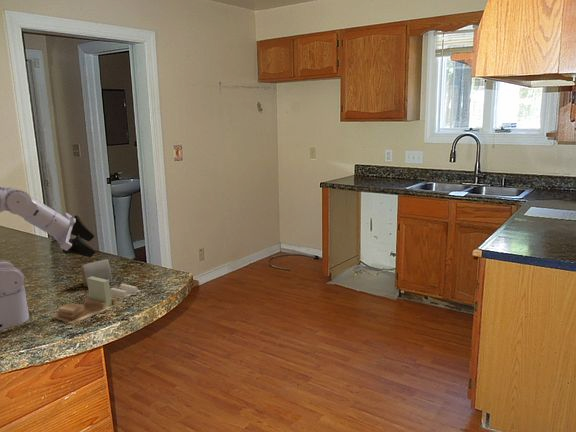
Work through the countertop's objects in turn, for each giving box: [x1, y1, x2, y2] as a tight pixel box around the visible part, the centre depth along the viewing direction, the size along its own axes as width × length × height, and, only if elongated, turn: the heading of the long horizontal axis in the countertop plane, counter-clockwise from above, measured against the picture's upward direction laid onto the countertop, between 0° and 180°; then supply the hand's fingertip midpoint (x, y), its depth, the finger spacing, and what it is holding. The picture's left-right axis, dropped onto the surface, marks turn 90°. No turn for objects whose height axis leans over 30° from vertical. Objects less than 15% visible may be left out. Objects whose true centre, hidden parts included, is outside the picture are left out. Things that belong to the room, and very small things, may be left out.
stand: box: [110, 283, 142, 300], centre depth 134 cm, size 7×6×2 cm
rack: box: [50, 296, 123, 325], centre depth 123 cm, size 15×9×2 cm, turn 148°
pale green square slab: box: [87, 276, 112, 307], centre depth 125 cm, size 2×7×7 cm, turn 58°
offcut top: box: [57, 302, 84, 315], centre depth 119 cm, size 4×5×1 cm
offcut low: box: [56, 310, 87, 321], centre depth 119 cm, size 4×6×1 cm, turn 58°
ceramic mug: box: [80, 258, 113, 288], centre depth 141 cm, size 11×8×8 cm
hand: (92, 246), depth 128 cm, fingers open, 7 cm apart
